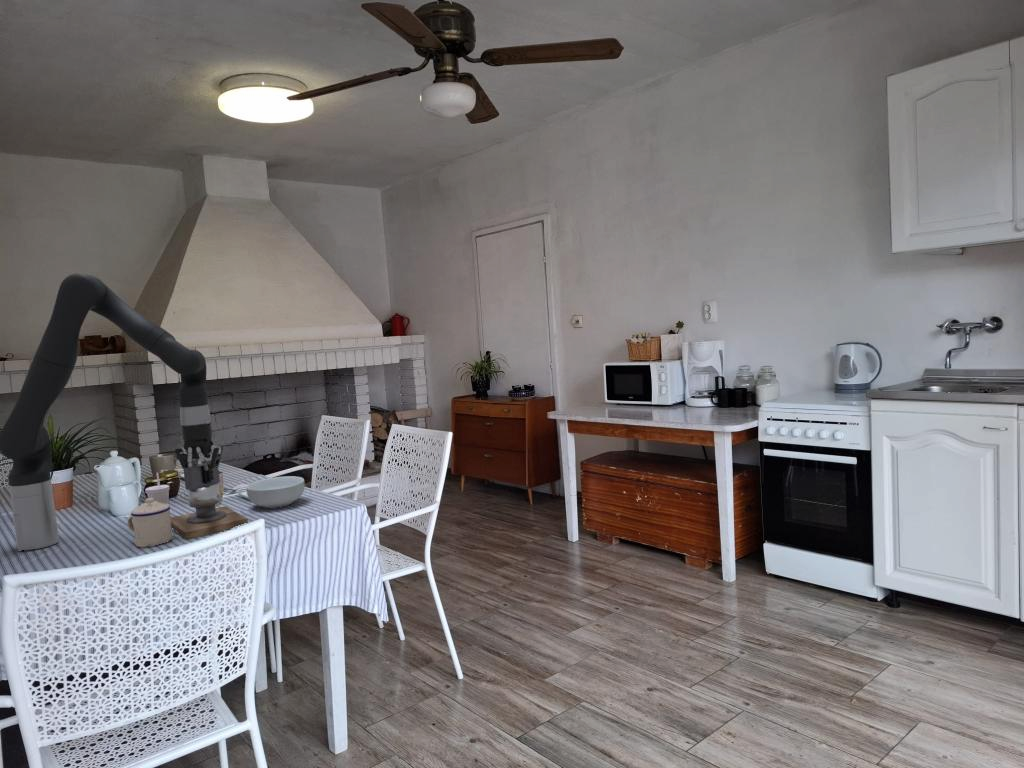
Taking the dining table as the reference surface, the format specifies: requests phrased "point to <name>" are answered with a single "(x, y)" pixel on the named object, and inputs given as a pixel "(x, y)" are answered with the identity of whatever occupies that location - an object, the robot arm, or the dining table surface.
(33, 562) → the dining table surface
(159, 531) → the teacup with lid
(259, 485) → the cereal bowl
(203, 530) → the lock base
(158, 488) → the smoothie
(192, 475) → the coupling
